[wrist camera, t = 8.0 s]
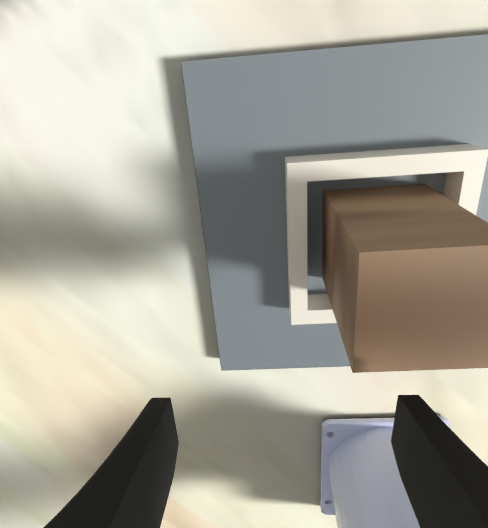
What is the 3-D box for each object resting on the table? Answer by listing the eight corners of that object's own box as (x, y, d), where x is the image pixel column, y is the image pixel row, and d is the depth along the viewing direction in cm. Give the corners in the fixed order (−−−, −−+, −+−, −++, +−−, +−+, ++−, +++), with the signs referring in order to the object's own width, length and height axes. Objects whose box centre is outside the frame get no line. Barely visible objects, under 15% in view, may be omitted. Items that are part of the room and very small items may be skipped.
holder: (496, 349, 22) (523, 379, 20) (222, 359, 23) (219, 389, 21) (581, 27, 15) (637, 18, 13) (185, 62, 16) (173, 59, 14)
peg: (412, 272, 19) (489, 367, 13) (322, 277, 19) (352, 372, 13) (424, 183, 17) (521, 243, 11) (322, 190, 17) (359, 252, 11)
